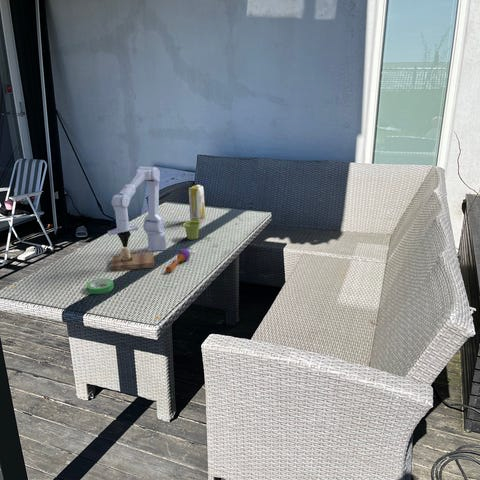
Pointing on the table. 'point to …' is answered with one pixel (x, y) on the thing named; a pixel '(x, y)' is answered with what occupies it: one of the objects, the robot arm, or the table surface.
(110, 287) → the tape roll
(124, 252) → the beech peg
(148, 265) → the walnut board
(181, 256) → the kendama
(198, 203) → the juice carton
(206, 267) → the table surface
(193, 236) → the plant pot
